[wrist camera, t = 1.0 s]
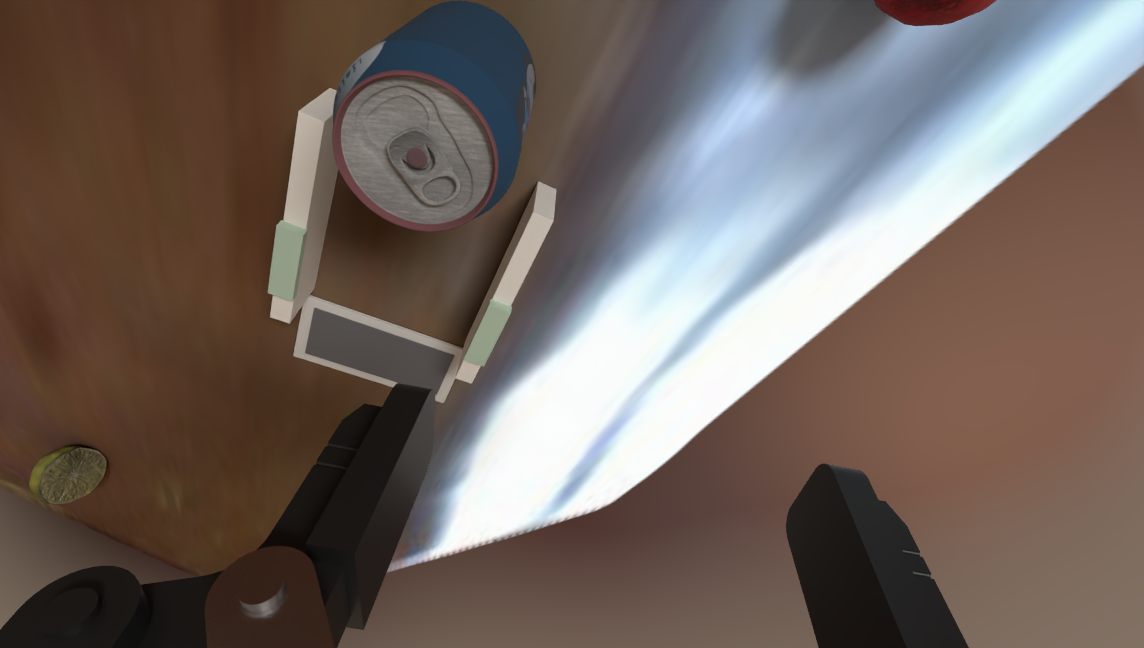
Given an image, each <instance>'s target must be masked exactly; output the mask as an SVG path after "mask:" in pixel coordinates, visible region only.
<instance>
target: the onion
mask: <svg viewBox="0 0 1144 648" xmlns="http://www.w3.org/2000/svg"><path fill="white" fill-rule="evenodd" d="M995 1H996V0H874V2H875V4H876V6H877V7H878V8H879V9H881V10H882V11H883V12H884V13H886V14H888V15H889V16H891V17H893V18H895V19H896V20H898V21H900V22H902V23H903V24H907V25H912V26H927V25H943V24H949V23H953V22H955V21H958V20H960V19H963V18H965V17H968V16H970V15H973V14H975V13H978V12H980V11H982V10H984V9H985V8H987V7H988V6H990V5H991V4H992V3H993V2H995Z"/></svg>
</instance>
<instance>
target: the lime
mask: <svg viewBox="0 0 1144 648" xmlns="http://www.w3.org/2000/svg"><path fill="white" fill-rule="evenodd" d="M106 463H107V461H106V459H105V457H104V456H103V455H102V454H101V453H100V452H99V451H97V450H94V449H90V448H86V447H80V446H68V447H64V448H60V449H57V450H55V451H53V452H51V453H49V454H47V455H45V456H44V457H42V458H41V459H40V460H39V461H38V463H37V464H36V465H35V467H34V468H33V470H32V473H31V477H30V482H29V486H30V489H31V491H32V492H33V494H34V495H35V496H36V497H37V498H38V499H39V500H40V501H42V502H44V503H47V504H66V503H70V502H73V501H75V500H77V499H80V498H81V497H84V496H86V495H88V494H89V493H90V492H92V491H93V490H94V488H95V487H96V486H97V485H98V484H99V482H100V481H101V480H102V478H103V476H104V474H105V471H106V466H107V465H106Z"/></svg>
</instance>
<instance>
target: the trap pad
mask: <svg viewBox="0 0 1144 648" xmlns="http://www.w3.org/2000/svg"><path fill="white" fill-rule="evenodd" d="M462 351H463V348H461V347H459V346H456V345H453V344H450V343H447V342H444V341H441V340H438V339H435V338H433V337H430V336H427V335H424V334H421V333H418V332H415V331H412V330H409V329H407V328H404V327H401V326H398V325H395V324H392V323H389V322H386V321H384V320H381V319H378V318H375V317H372V316H369V315H366V314H363V313H360V312H358V311H355V310H352V309H349V308H346V307H343V306H340V305H337V304H334V303H332V302H329V301H326V300H323V299H320V298H317V297H314V296H311V295H309V297H308V298H307V300H306V301H305V302H304V304H303V307H302V312H301V317H300V323H299V328H298V333H297V339H296V344H295V349H294V355H293V356H295V357H298V358H302V359H305V360H308V361H311V362H314V363H317V364H321V365H324V366H327V367H330V368H333V369H337V370H340V371H343V372H346V373H349V374H352V375H356V376H359V377H362V378H365V379H368V380H371V381H375V382H378V383H381V384H384V385H387V386H390V387H394V386H395V385H396V384H397V383H400V384H406V385H411V386H417V387H422V388H427V389H433V390H434V391H435V401H438V402H441V403H444V401H445V399H446V397H447V395H448V393H449V391H450V389H451V386H452V384H453V382H454V380H455V377H456V373H457V370H458V366H459V362H460V358H461V355H462Z"/></svg>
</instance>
